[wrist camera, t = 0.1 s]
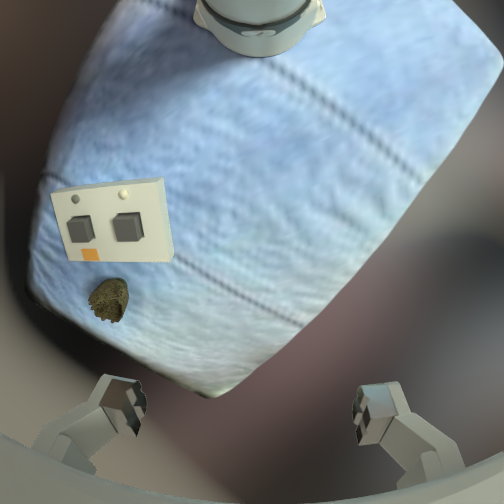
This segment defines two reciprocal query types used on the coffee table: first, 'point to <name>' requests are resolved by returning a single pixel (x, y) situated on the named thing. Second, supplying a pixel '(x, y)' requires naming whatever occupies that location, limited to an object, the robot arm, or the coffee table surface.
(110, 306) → the brown textured goblet
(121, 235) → the block
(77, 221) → the block
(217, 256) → the coffee table surface
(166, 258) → the panel
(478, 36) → the coffee table surface
